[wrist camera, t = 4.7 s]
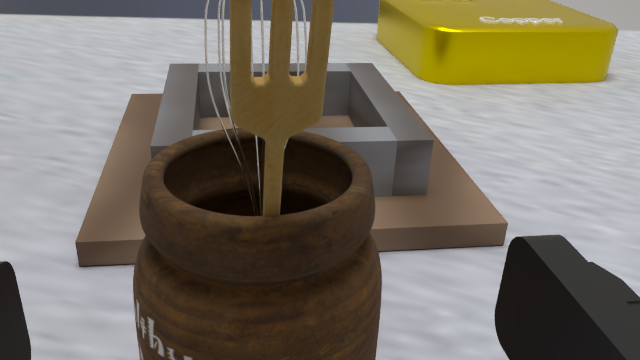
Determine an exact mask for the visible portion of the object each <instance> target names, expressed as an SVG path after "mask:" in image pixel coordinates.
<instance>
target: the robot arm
mask: <svg viewBox="0 0 640 360" xmlns="http://www.w3.org/2000/svg"><path fill="white" fill-rule="evenodd" d="M495 327H496V332H497V336H498V339H499V342H500V344H501V346H502V348H503V350H504V351H505V353H506V355H507V356H508V358H509V360H640V297H639V296H638V295H637V294H636V293H635V292H634V291H633V290H632V289H631V288H630V287H629V286H628V285H627V284H626V283H625V282H624V281H623V280H622V279H620V278H618V277H617V276H615V275H613V274H612V273H610V272H608V271H607V270H605V269H603V268H602V267H600V266H598V265H597V264H595V263H593V262H588V261H587V260H586V259H585V258H584V257H583V256H582V255H581V254H580V253H579V252H578V251H577V250H576V249H575V248H574V247H573V246H572V245H571V244H570V243H569V242H568V241H567V239H565V238H564V237H563V236H561V235H542V236H522V237H515V238H514V239H513V240H512V241H511V243H510V245H509V248H508V252H507V256H506V261H505V266H504V270H503V275H502V280H501V285H500V289H499V294H498V299H497V303H496V308H495ZM0 360H31V345H30V339H29V334H28V330H27V325H26V321H25V316H24V312H23V307H22V303H21V298H20V294H19V289H18V285H17V280H16V276H15V272H14V269H13V267H12V265H11V264H10V263H9V262H0Z"/></svg>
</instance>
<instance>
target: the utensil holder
mask: <svg viewBox="0 0 640 360" xmlns="http://www.w3.org/2000/svg"><path fill="white" fill-rule="evenodd" d="M208 3H209V0H207V3H206V8H205V61H206V73H207V80H208V86H209V91H210V95H211V98H212V102H213V105H214V107H215V110H216V113H217V116H218V118H219V121H220V123H221V125H222V128H223V130H216V131H211V132H207V133H202V134H198V135H195V136H192V137H189V138H186V139H183V140H181V141H178V142H176V143H174V144H172V145H170V146H168V147H166V148H165V149H163V150H162V151H160V152H159V153H158V154H157V155H155V156H154V157H153V158H152V159H151V161H150V162H149V163H148V165H147V166H146V168H145V170H144V173H143V177H142V184H141V193H140V203H139V216H140V222H141V226H142V229H143V231H144V233H145V237H144V239H143V241H142V243H141V245H140V247H139V250H138V253H137V257H136V261H135V268H134V277H133V293H134V309H135V320H136V329H137V338H138V346H139V355H140V360H375V357H376V348H377V338H378V329H379V319H380V307H381V288H382V274H381V264H380V257H379V253H378V249H377V246H376V244H375V241H374V239H373V237H372V235H371V233H370V231H371V228H372V226H373V223H374V218H375V195H374V187H373V179H372V174H371V170H370V168H369V166H368V164H367V163H366V161H365V160H364V159H363V158H362V157H361V156H360V155H359V154H358V153H357V152H355V151H354V150H352V149H351V148H349V147H348V146H346V145H344V144H342V143H340V142H338V141H335V140H333V139H330V138H328V137H325V136H321V135H318V134H314V133H310V132H305V131H303V130H305V129H306V128H308V127H310V126H312V125H314V124H316V123H317V122H318V121H319V119H320V118H321V116H322V112H323V103H324V94H325V84H326V74H327V65H328V55H329V45H330V35H331V26H332V15H333V6H334V0H312V10H311V21H310V31H309V42H308V53H307V34H306V17H305V9H304V4H303V1H302V0H301V4H302V8H303V16H304V32H305V72H304V73H303V74H302V75H300V76H299V36H298V17H297V8H296V3H295V0H272V6H271V28H270V50H269V71H268V72H267V73H266V74H265V69H264V32H263V5H262V0H260V6H261V36H262V72H263V77H254V76H253V47H252V0H230V103H229V98H228V92H227V85H226V75H225V58H224V5H225V0H223V4H222V60H223V76H224V86H225V91H224V86H223V80H222V72H221V59H220V4H221V0H219V6H218V56H219V70H220V79H221V85H222V91H223V95H224V100H225V103H226V107H227V111H228V114H229V117H230V121H231V124H232V127H233V128H231V129H225V128H224V125H223V123H222V120H221V118H220V116H219V113H218V110H217V107H216V105H215V102H214V98H213V94H212V91H211V86H210V81H209V73H208V61H207V8H208ZM293 3H294V8H295V18H296V36H297V76H291V75H290V74H289V68H290V51H291V34H292V17H293ZM251 71H252V74H251ZM225 93H226V96H225ZM226 99H227V100H226ZM235 125H236V126H237V127H239V128H236V127H235Z"/></svg>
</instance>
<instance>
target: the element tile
mask: <svg viewBox="0 0 640 360" xmlns="http://www.w3.org/2000/svg"><path fill="white" fill-rule="evenodd" d="M617 33H618V29H617V28H616V26H615V25H614V24H612V23H609V22H607V21H604V20H601V19H598V18H596V17H593V16H590V15H588V14H585V13H582V12H579V11H577V10H574V9H571V8H569V7H566V6H563V5H560V4H558V3H555V2H552V1H549V0H380V6H379V17H378V29H377V40H378V41H379V42H380V43H381V44H382V45H383V46H384V47H385V48H386V49H387V50H388V51H389V52H390V53H391V54H393V55H394V56H395V57H396V58H397V59H398V60H399V61H400V62H401V63H402V64H403V65H404V66H405V67H406V68H407V69H409V70H410V71H411V72H412V73H413V74H414V75H415V76H416V77H418V78H419V79H422V80H424V81H427V82H431V83H436V84H446V85H475V84H531V83H587V82H599V81H604V80H605V79H606V76H607V72H608V68H609V64H610V60H611V56H612V53H613V49H614V45H615V41H616V37H617Z"/></svg>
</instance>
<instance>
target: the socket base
mask: <svg viewBox="0 0 640 360" xmlns="http://www.w3.org/2000/svg"><path fill="white" fill-rule="evenodd" d="M264 69H265V74H266V73H267V72H268V71H269V64H264ZM221 72H222V80H223V86H224V76H223V64H221ZM304 72H305V63H299V76H300V75H302V74H303V73H304ZM208 73H209V81H210V86H211V91H212V94H213V98H214V102H215V105H216V107H217V110H218V113H219V116H220V118H221V120H222V123H223V125H224V128H225V129H231V128H233V127H232V124H231V121H230V117H229V114H228V111H227V107H226V103H225V100H224V95H223V91H222V85H221V79H220V70H219V64H208ZM251 74H252V71H251ZM289 74H290V75H291V76H297V63H294V64H290V68H289ZM225 75H226V85H227V92H228V98H229V103H230V64H225ZM253 76H254V77H263V72H262V64H253ZM224 91H225V86H224ZM225 96H226V93H225ZM226 100H227V99H226ZM235 127H236V128H239V127H237V126H236V125H235ZM216 130H223V128H222V125H221V123H220V121H219V118H218V116H217V113H216V110H215V107H214V105H213V102H212V98H211V95H210V91H209V86H208V80H207V73H206V64H170V67H169V71H168V75H167V79H166V83H165V88H164V92H163V94H132V95H131V98H130V101H129V103H128V106H127V108H126V111H125V114H124V116H123V119H122V122H121V124H120V127H119V129H118V132H117V135H116V137H115V140H114V143H113V145H112V148H111V150H110V153H109V156H108V158H107V161H106V164H105V166H104V169H103V171H102V174H101V177H100V179H99V182H98V185H97V187H96V190H95V192H94V195H93V198H92V200H91V203H90V206H89V208H88V211H87V213H86V216H85V219H84V221H83V224H82V227H81V229H80V232H79V234H78V237H77V240H76V242H75V243H76V249H77V255H78V261H79V266H94V265H114V264H133V263H135V261H136V257H137V253H138V250H139V247H140V245H141V243H142V241H143V239H144V237H145V233H144V231H143V229H142V226H141V222H140V216H139V203H140V193H141V184H142V177H143V173H144V170H145V168H146V166H147V165H148V163H149V162H150V161H151V159H152V158H153V157H154V156H155V155H157V154H158V153H159V152H160V151H162V150H163V149H165V148H166V147H168V146H170V145H172V144H174V143H176V142H178V141H181V140H183V139H186V138H189V137H192V136H195V135H198V134H202V133H207V132H211V131H216ZM303 131H305V132H310V133H314V134H318V135H321V136H325V137H328V138H330V139H333V140H335V141H338V142H340V143H342V144H344V145H346V146H348V147H349V148H351V149H352V150H354V151H355V152H357V153H358V154H359V155H360V156H361V157H362V158H363V159H364V160H365V161H366V163H367V164H368V166H369V168H370V170H371V174H372V179H373V187H374V195H375V218H374V223H373V226H372V228H371V231H370V233H371V235H372V237H373V239H374V241H375V244H376V246H377V249H378V251H392V250H411V249H431V248H451V247H471V246H491V245H503V244H504V240H505V235H506V230H507V225H508V223H507V221H506V220H505V219H504V218H503V217H502V215H501V214H500V213H499V212H498V210H497V209H496V208H495V207H494V206H493V204H492V203H491V202H490V201H489V200H488V198H487V197H486V196H485V195H484V194H483V192H482V191H481V190H480V189H479V188H478V186H477V185H476V184H475V183H474V181H473V180H472V179H471V178H470V177H469V175H468V174H467V173H466V172H465V171H464V169H463V168H462V167H461V166H460V165H459V163H458V162H457V161H456V160H455V158H454V157H453V156H452V155H451V154H450V152H449V151H448V150H447V149H446V148H445V146H444V145H443V144H442V143H441V142H440V140H439V139H438V138H437V137H436V136H435V134H434V133H433V132H432V131H431V129H430V128H429V127H428V126H427V125H426V123H425V122H424V121H423V120H422V119H421V117H420V116H419V115H418V114H417V113H416V111H415V110H414V109H413V108H412V107H411V105H410V104H409V103H408V102H407V100H406V99H405V98H404V97H403V96H402V94H401V93H400V92H395V91H394V90H393V89H392V88H391V86H390V85H389V84H388V83H387V81H386V80H385V79H384V78H383V76H382V75H381V74H380V73H379V71H378V70H377V69H376V68H375V66H374V65H373V64H372V63H328V65H327V74H326V84H325V94H324V103H323V112H322V116H321V118H320V119H319V121H318V122H317V123H316V124H314V125H312V126H310V127H308V128H306V129H305V130H303Z"/></svg>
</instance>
